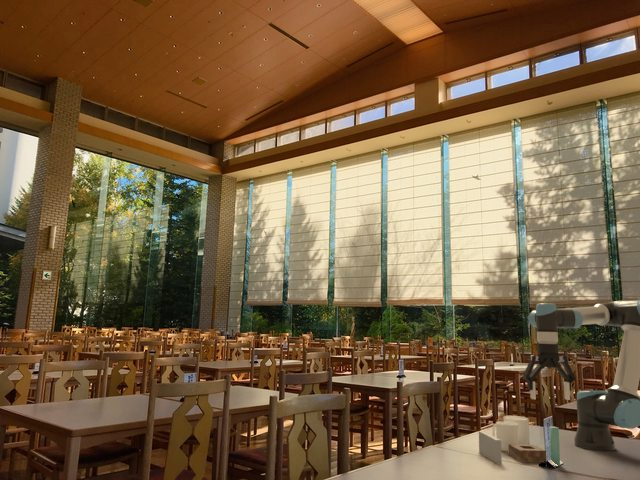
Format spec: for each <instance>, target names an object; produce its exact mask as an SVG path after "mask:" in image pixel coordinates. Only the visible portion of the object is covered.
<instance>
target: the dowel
mask: <svg viewBox="0 0 640 480" xmlns="http://www.w3.org/2000/svg"><path fill="white" fill-rule="evenodd" d="M559 429H560V428H559V427H557V426H549V444H550V446H549V447H550V461H551V460H552V461H553V462H554V463H555V464H557V465H558V466H557V467H561V452H560V451H561V450H560V432H559Z"/></svg>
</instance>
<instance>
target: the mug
mask: <svg viewBox="0 0 640 480" xmlns="http://www.w3.org/2000/svg"><path fill="white" fill-rule="evenodd" d="M503 422H513V423H517V424H518V444H529V445H531V444H530V419H529V418H528V417H525V416H518V415H504V416H503Z"/></svg>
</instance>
